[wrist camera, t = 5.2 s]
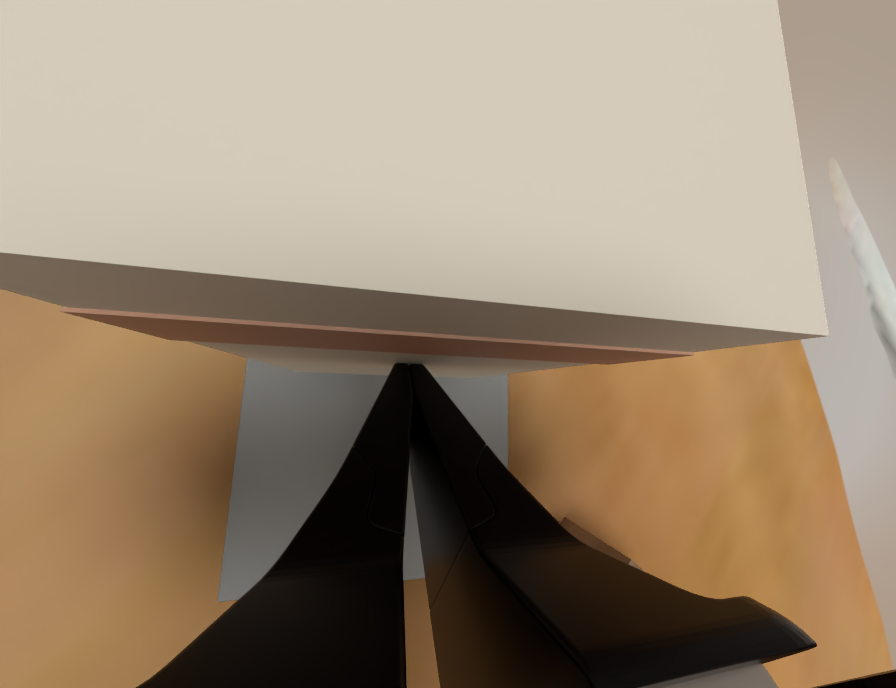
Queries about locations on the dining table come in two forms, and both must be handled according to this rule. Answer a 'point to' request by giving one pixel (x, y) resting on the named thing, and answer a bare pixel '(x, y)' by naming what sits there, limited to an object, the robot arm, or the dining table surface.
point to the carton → (409, 178)
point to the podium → (319, 457)
